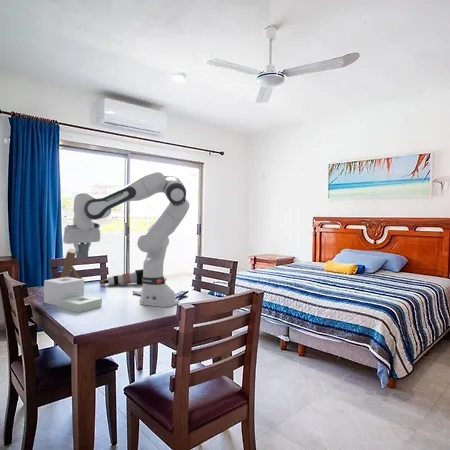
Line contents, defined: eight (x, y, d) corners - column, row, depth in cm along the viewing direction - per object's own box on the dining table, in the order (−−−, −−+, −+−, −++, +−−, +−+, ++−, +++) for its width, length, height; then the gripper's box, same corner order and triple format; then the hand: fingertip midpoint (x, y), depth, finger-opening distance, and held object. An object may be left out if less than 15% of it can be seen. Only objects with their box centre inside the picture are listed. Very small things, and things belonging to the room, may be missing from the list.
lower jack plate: (101, 306, 178) (101, 298, 178) (79, 312, 165) (79, 304, 165) (83, 302, 184) (83, 295, 184) (60, 308, 172) (60, 300, 172)
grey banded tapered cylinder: (100, 291, 230) (99, 277, 233) (151, 284, 242) (149, 270, 246) (100, 287, 221) (99, 273, 225) (152, 280, 233) (150, 266, 237)
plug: (88, 259, 175) (88, 240, 175) (81, 260, 172) (81, 240, 172) (82, 258, 177) (83, 239, 177) (76, 259, 174) (76, 240, 173)
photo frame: (56, 293, 203) (56, 251, 202) (59, 286, 223) (60, 248, 223) (82, 292, 208) (83, 251, 207) (84, 285, 228) (85, 248, 228)
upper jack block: (83, 301, 187) (84, 279, 187) (61, 306, 175) (61, 283, 174) (66, 297, 194) (67, 276, 193) (43, 302, 181) (44, 280, 181)
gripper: (69, 225, 163) (68, 253, 164) (102, 224, 182) (102, 250, 182) (60, 224, 166) (60, 252, 167) (94, 224, 184) (93, 249, 185)
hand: (82, 251), depth 174 cm, fingers closed on plug, 4 cm apart
